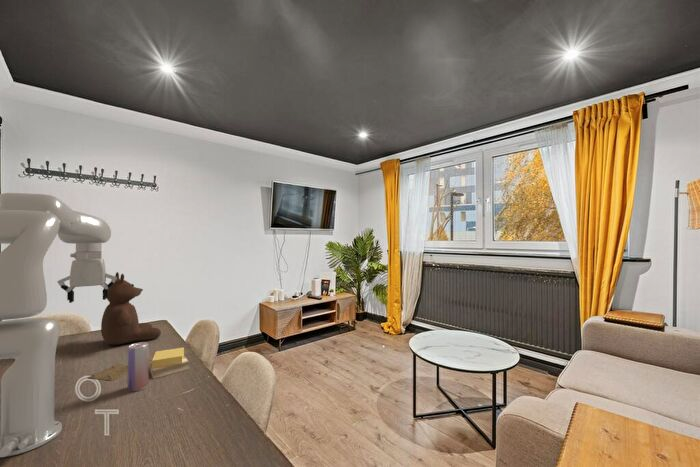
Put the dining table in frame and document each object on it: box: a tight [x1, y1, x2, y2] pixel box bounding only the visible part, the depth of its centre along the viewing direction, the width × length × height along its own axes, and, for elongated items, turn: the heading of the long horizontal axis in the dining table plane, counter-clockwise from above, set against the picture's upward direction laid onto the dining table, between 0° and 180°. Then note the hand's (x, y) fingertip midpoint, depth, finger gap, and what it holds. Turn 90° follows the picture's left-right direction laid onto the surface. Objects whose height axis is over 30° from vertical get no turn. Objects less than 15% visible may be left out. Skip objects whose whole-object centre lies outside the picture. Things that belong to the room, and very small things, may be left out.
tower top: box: [151, 347, 185, 368], centre depth 119 cm, size 10×10×3 cm
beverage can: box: [127, 341, 150, 392], centre depth 104 cm, size 6×6×15 cm
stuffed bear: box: [100, 271, 162, 346], centre depth 152 cm, size 29×23×35 cm
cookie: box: [87, 363, 128, 382], centre depth 116 cm, size 12×12×1 cm
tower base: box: [149, 355, 190, 380], centre depth 119 cm, size 12×12×3 cm
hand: (88, 300), depth 114 cm, fingers open, 9 cm apart
